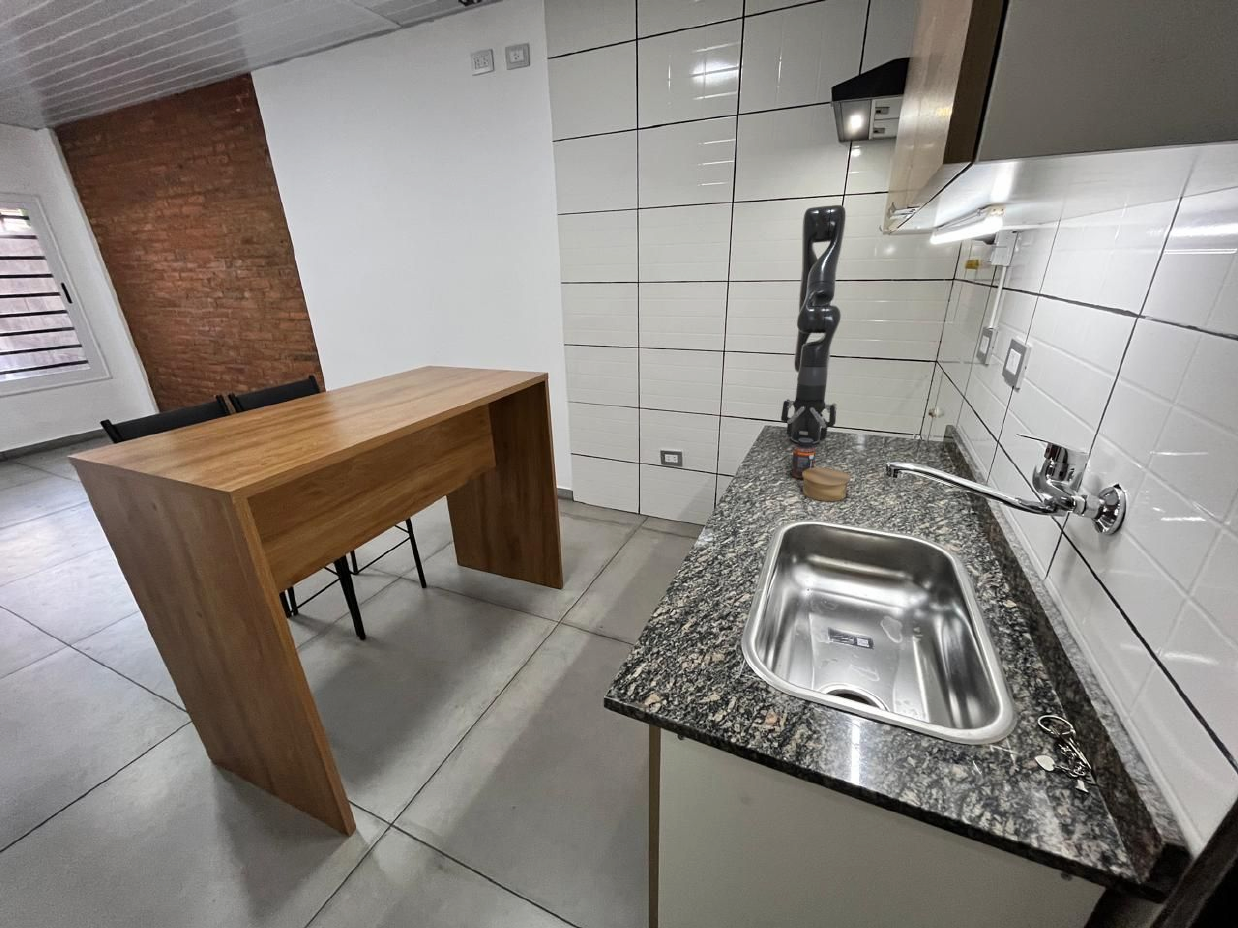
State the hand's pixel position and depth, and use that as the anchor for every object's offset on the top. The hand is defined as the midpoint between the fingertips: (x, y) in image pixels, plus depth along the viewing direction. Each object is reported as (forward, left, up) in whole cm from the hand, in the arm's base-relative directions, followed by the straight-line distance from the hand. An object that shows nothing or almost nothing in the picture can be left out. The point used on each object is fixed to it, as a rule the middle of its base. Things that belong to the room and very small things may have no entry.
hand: (805, 437), depth 139 cm
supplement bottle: (0, 0, -12) cm, 12 cm away
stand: (+9, +8, -12) cm, 17 cm away
